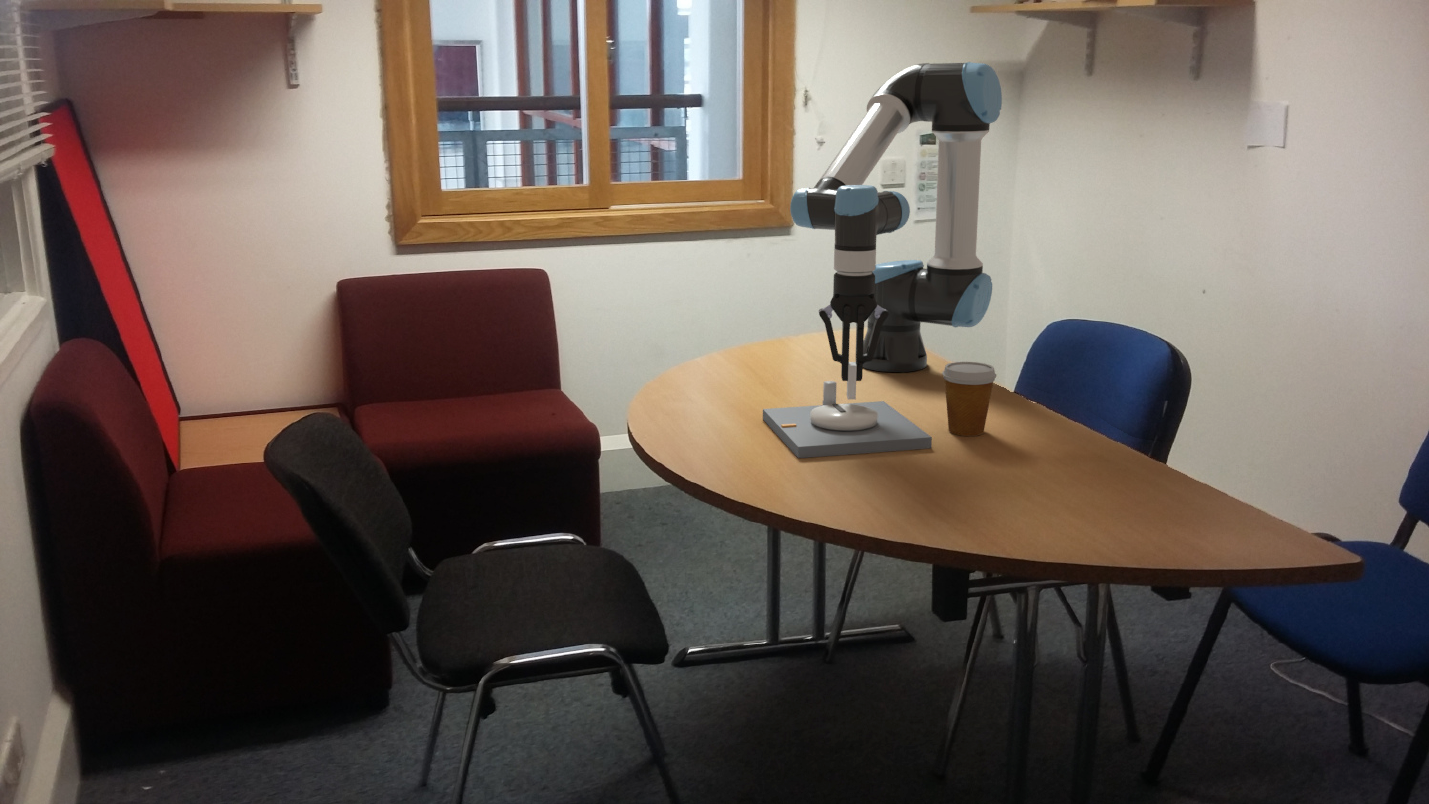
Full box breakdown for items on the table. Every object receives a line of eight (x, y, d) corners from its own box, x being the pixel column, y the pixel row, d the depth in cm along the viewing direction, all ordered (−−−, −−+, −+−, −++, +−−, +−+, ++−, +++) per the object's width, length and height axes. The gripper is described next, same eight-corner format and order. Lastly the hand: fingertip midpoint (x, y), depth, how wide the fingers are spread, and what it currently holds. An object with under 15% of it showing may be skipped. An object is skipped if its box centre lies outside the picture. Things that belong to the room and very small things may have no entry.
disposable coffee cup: (993, 440, 206) (997, 374, 203) (938, 437, 208) (942, 372, 204) (992, 425, 215) (996, 362, 212) (939, 422, 217) (942, 359, 213)
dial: (886, 428, 206) (887, 400, 204) (821, 432, 203) (822, 405, 202) (857, 404, 221) (858, 378, 219) (796, 408, 218) (796, 382, 217)
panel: (883, 411, 224) (883, 399, 224) (931, 448, 202) (931, 435, 201) (762, 419, 219) (762, 407, 219) (798, 458, 197) (798, 445, 196)
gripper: (888, 268, 214) (884, 392, 221) (817, 268, 215) (815, 392, 221) (892, 275, 207) (888, 403, 213) (819, 275, 208) (817, 402, 214)
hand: (851, 397), depth 217 cm, fingers closed
